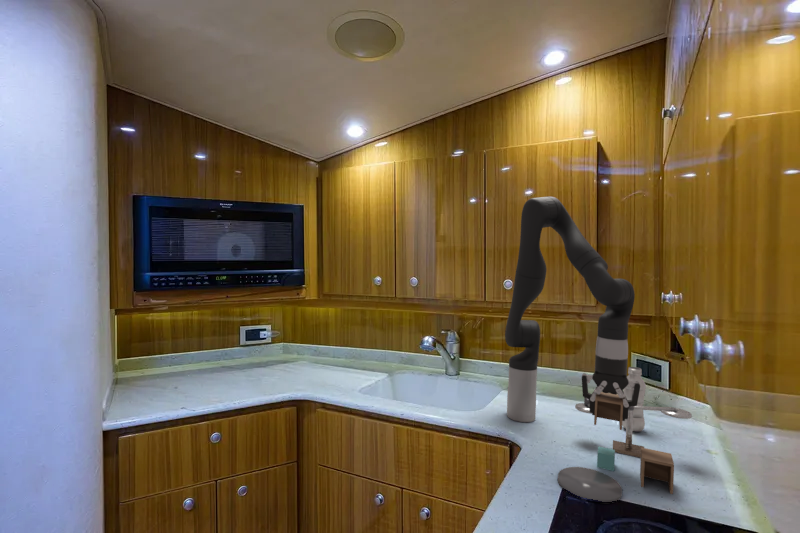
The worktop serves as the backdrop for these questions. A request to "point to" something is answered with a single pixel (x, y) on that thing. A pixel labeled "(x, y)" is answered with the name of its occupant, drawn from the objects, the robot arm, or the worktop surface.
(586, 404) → the balance
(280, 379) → the worktop surface
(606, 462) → the teal block
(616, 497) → the slate dish
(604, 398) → the hiding cover
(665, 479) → the empty cover
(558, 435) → the worktop surface
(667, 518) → the worktop surface
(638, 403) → the plastic bottle
